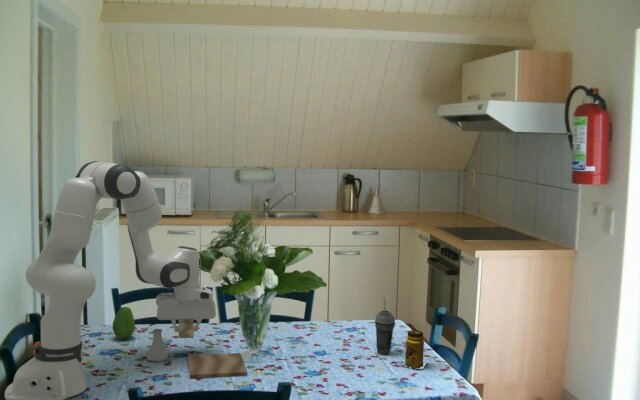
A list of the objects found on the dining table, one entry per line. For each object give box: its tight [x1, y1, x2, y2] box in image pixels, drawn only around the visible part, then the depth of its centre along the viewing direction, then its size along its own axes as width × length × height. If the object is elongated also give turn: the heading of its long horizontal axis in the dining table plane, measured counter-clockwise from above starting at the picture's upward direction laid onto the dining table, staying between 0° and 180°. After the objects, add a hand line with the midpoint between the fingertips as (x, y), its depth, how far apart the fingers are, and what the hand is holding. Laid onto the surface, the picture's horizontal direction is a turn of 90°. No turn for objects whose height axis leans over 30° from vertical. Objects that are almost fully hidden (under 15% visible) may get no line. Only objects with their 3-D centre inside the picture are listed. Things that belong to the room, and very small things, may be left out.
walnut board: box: [187, 352, 248, 380], centre depth 228 cm, size 18×18×1 cm
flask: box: [146, 328, 169, 362], centre depth 234 cm, size 7×7×10 cm
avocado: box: [112, 306, 136, 340], centre depth 253 cm, size 8×8×12 cm
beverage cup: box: [374, 297, 396, 356], centre depth 246 cm, size 7×7×20 cm
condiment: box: [404, 329, 425, 368], centre depth 235 cm, size 7×8×12 cm
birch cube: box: [177, 319, 195, 339], centre depth 240 cm, size 5×5×5 cm
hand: (186, 331), depth 240 cm, fingers closed on birch cube, 5 cm apart
